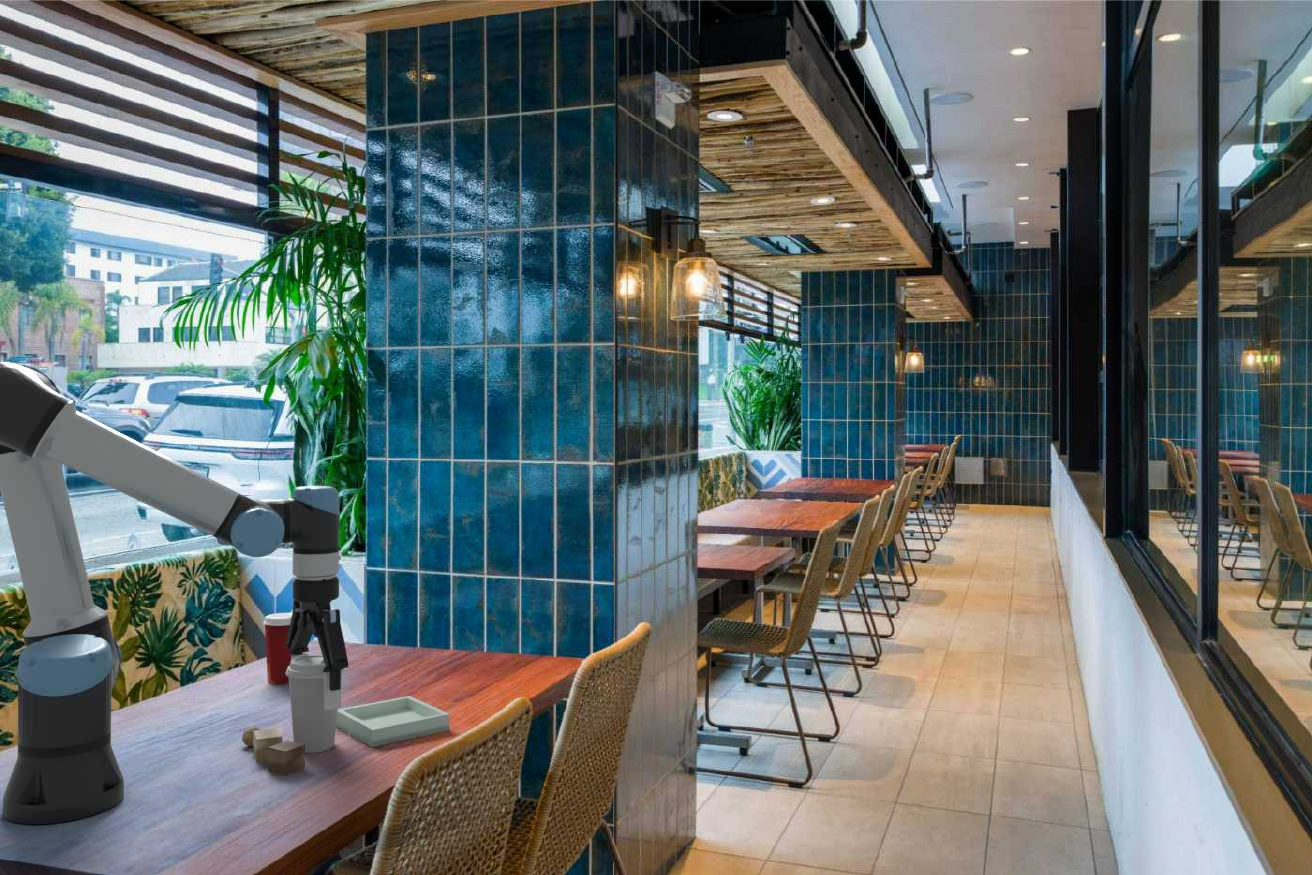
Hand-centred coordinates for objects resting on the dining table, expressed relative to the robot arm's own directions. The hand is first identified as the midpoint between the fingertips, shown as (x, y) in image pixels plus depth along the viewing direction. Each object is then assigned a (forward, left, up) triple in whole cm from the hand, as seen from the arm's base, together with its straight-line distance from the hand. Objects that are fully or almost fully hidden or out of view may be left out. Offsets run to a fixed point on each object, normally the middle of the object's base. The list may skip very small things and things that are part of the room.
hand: (315, 699), depth 171 cm
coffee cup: (0, 0, -8) cm, 8 cm away
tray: (+15, +1, -8) cm, 17 cm away
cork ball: (-8, +7, -8) cm, 13 cm away
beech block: (-8, 0, -8) cm, 12 cm away
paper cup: (+12, +45, -8) cm, 47 cm away
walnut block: (-8, -8, -8) cm, 14 cm away
